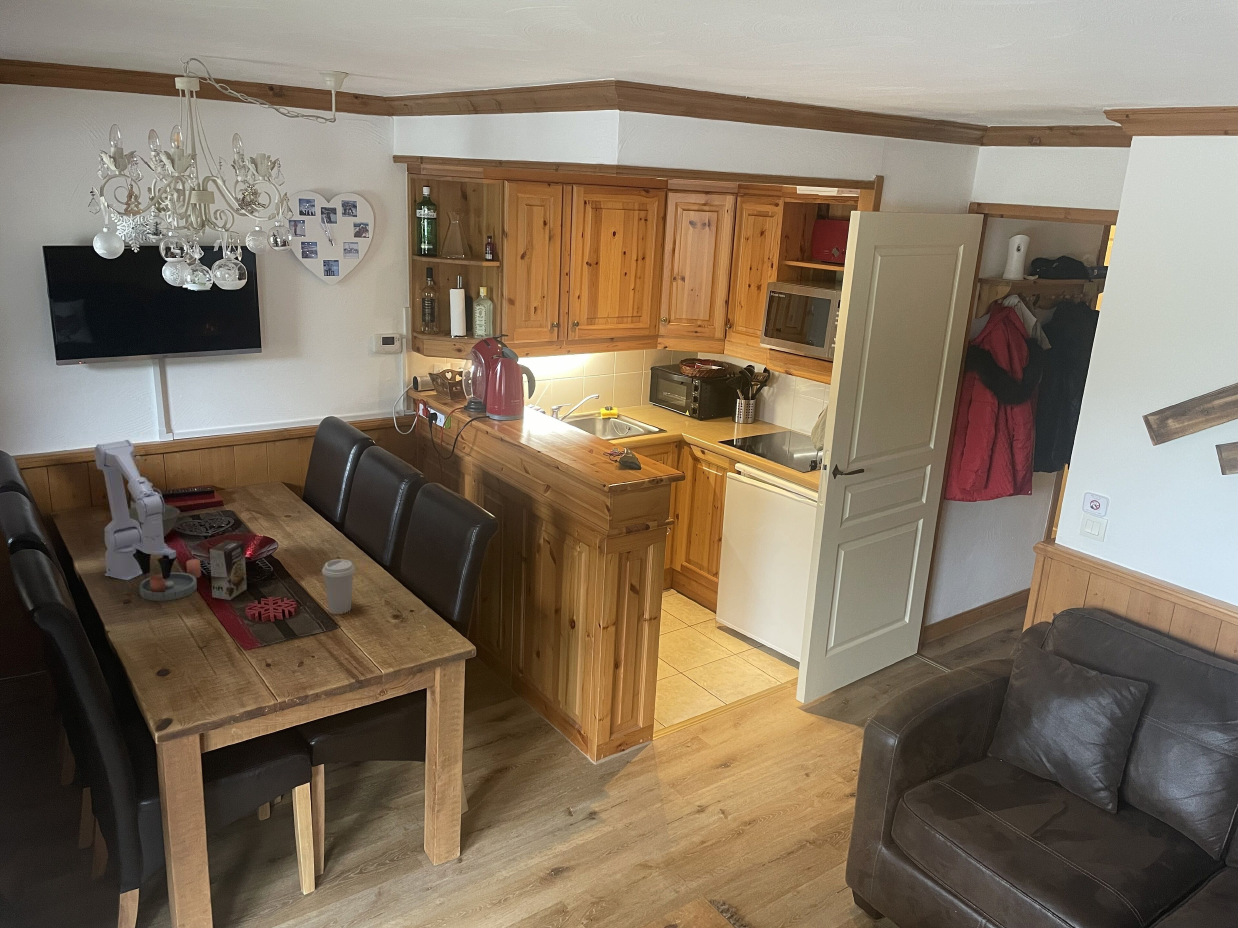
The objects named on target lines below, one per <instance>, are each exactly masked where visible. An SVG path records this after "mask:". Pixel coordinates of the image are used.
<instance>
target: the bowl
mask: <svg viewBox="0 0 1238 928" xmlns="http://www.w3.org/2000/svg"><path fill="white" fill-rule="evenodd" d="M128 511H129V516H130V518H131V519H133V520H135V521H137V522H138V523H139V524H140V528H141V530H142V527H141V521H140V520H139V516H138V512H137V509H136V507H134V508H131V507H130V508H128ZM180 512H181V511H180V510H179V509H178V508H177V507H174V506H172V505H168V504H165V511H164V512H163V513H161V514H162V523H163V535H164V537H166V536H167V535H168V534H169V533H170V532H171V530H173V527H174V526H175V523H176V522H177V520H178V518H179V516H180ZM127 528H129V527H127Z"/></svg>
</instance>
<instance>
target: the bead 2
mask: <svg viewBox="0 0 1238 928" xmlns="http://www.w3.org/2000/svg"><path fill="white" fill-rule="evenodd" d="M186 573H187V574H191V575H193V576H195V577H196V579H197V578H198V579H199V578H200V577H201V576H202V571H201V560H200V559H198V558H192V559H187V561H186Z"/></svg>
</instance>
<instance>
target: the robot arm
mask: <svg viewBox="0 0 1238 928" xmlns="http://www.w3.org/2000/svg"><path fill="white" fill-rule="evenodd" d="M93 454H94V460H95V465H96V468H97V470H101V471H102V473H103V475H104V482H105V487H106V491H107V492H106V493H107V497H108V503H109V508H110V512H111V513H110V514H111V518H112V520H111V521H110V522H109V523H108V524H107V525H106V526H105V527H104V544H105V547H106V548H107V550H106V551H105V555H104V559H105V569H106V573H104V576H105V577H109V576H110V578H115V579H119V580H123V581H130V580H132V579H134V578H136V577H138V576H141V575H143V576H144V575H147V574H149V573H151V556H152V555H158V556H162V557H160V558H158V559H157V562H158V565H159V566H160V570H161V574H162V577H163V579H167V578H169V577H170V574H171V573H172V568H173V565H174V563H175V561H176V559H177V556H178V555H177V551H176V550H175V549H172V548H170V547H168V546H167V543H165V538H164V537H165V536H164V535H163V523H162V514H161V513H163V512H164V511H165V505H166V504H165V501H164V498H163V495H162V496H161V494H160V493H159V492H158V491H154V488H153V486H152V487H151V486H150V484H149V482H150V481H149V480H148V479H147V478H146V477H144V476H141V473H140V474H139V469H138V467H137V465H136V463H135V454H136V453H135V447H134V444H133V443H132V442H131V441H130V439H125V440H122V441H120V440H119V441H113V442H109V443H108V442H107V443H102V444H100V443H98V444H96V445H95V447H94V450H93ZM123 477H124V478H125V479H126V480H127V481H128V483H127V489H128V491H129V492H130V494H131V496H133V498H134V499H135V501H136V509H137V512H138V516H139V520H140V521H141V527H142V530H141V528H140V524H139V523H138V522H137V521H135V520H133V519H131V518H130V516H129V511H128V509H129V507H128V506H129V505H128V500H127V496H126V489H125V484H124V479H123ZM152 488H153V489H152ZM127 527H129V528H127Z"/></svg>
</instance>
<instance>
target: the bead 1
mask: <svg viewBox="0 0 1238 928" xmlns="http://www.w3.org/2000/svg"><path fill="white" fill-rule="evenodd" d="M150 587H151V591H152V592H165V580H164V579H163V577H162V575H159V574H153V575H151V576H150Z"/></svg>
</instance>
